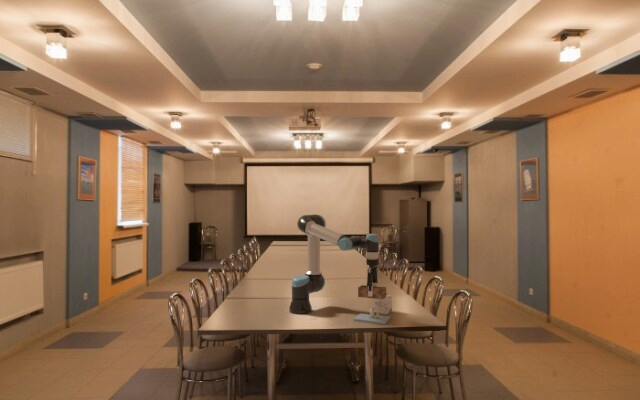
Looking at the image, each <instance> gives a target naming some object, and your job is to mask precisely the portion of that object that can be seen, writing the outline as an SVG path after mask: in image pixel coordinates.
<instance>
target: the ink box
mask: <svg viewBox="0 0 640 400" xmlns="http://www.w3.org/2000/svg"><path fill="white" fill-rule="evenodd" d="M388 293H389V291H386V297H385V298H384V299H374V308H375V313H376V312H379V314H380V315H388V314H390V313H392V311H393V295H392V294H388Z"/></svg>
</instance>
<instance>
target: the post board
mask: <svg viewBox="0 0 640 400" xmlns="http://www.w3.org/2000/svg"><path fill="white" fill-rule="evenodd" d="M375 313H376V314H375ZM390 320H391V316H390V315H389V316H387V315H381V314H380V313H379V312H375V307H370V308H369V313H361V312H360V313H359V314H358V315H357V316H355V317H354V318H353V321H354V322H362V323H369V324H376V325H377V324H379V325H386V324H387V323H388V322H389V321H390Z"/></svg>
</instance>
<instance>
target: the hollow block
mask: <svg viewBox="0 0 640 400" xmlns="http://www.w3.org/2000/svg"><path fill="white" fill-rule="evenodd" d="M357 289H358V290H357V296H358V297H357V298H367V299H374V300H375V299H384V298H385V297H386V292H387V286H373V296H368V286H367V285H366V284H365V285H364V284H362V285H360V286H358V287H357Z"/></svg>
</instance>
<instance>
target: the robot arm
mask: <svg viewBox="0 0 640 400" xmlns="http://www.w3.org/2000/svg"><path fill="white" fill-rule="evenodd" d="M326 225H327V224H326V219H325V218H324V217H323V216H322V215H320V214H305V215H302V216H300V217H299V218H298V220H297V228H298V230H299V231H300V232H301V233H304V234H306V236H307V270H306V271H305V274H301V275H300V274H298V275H296V276H294V277H292V279H291V301H290V304H289V309H288V310H289V311H288V312H289V313H291V314H295V315H305V314H310V313H312V311H313V309H312V308H313V307H312V305H311V301H310V294H313V293H317V292H320V291H322V290H323V289H324V287H325V284H326V280H325V277H324V275H323V273H322V271H321V269H320V268H321V239H322V240H323V241H326V242H328V243H329V244H330V243H331V244H332V245H335V246H338V247H339V249H340V250H342V251H349V250H350V251H351V250H356V249H365V251H366V253H365V254H366V255H365V257H366V261H365V262H366V264H365V265H367V266H368V269H367V279H366V286H368V296H373V286H377V284H378V283H379V281H378V265H379V255H380V253H379V241H380V240H379V235H378V234H376V233H367V234H366V236H362V235H361V236H360V235H352V236H350V237H349V236H346V235H344V234H341V233H340V232H336V231H334V230H332V229H330V228H327V227H326ZM377 287H378V286H377Z"/></svg>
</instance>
